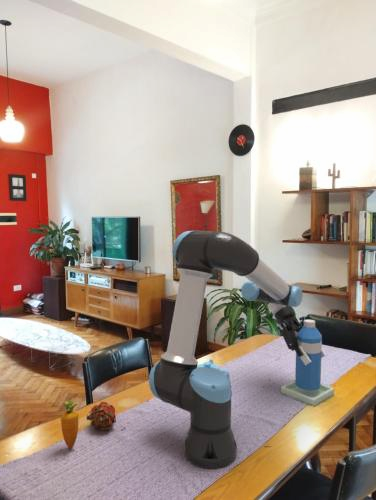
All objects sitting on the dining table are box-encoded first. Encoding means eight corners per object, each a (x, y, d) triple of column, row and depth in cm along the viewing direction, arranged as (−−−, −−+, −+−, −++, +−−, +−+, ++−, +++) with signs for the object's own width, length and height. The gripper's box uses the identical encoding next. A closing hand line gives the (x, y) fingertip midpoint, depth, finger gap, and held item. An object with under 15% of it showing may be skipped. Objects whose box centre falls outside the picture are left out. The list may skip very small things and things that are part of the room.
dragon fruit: (107, 442, 122) (95, 429, 132) (126, 419, 125) (114, 409, 136) (89, 424, 119) (79, 412, 130) (110, 401, 123) (98, 392, 133)
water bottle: (317, 380, 154) (319, 317, 151) (323, 391, 145) (325, 324, 142) (293, 379, 155) (294, 317, 152) (297, 390, 146) (299, 324, 143)
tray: (313, 407, 140) (313, 400, 140) (280, 393, 150) (281, 387, 150) (334, 395, 149) (334, 388, 149) (301, 382, 160) (302, 377, 159)
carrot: (72, 441, 119) (71, 394, 118) (82, 448, 116) (81, 399, 114) (58, 449, 115) (56, 400, 114) (68, 456, 112) (66, 405, 111)
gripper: (291, 310, 166) (325, 357, 156) (258, 320, 152) (292, 372, 141) (303, 300, 161) (338, 348, 151) (269, 309, 147) (305, 362, 137)
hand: (316, 360), depth 146 cm, fingers closed on water bottle, 9 cm apart
